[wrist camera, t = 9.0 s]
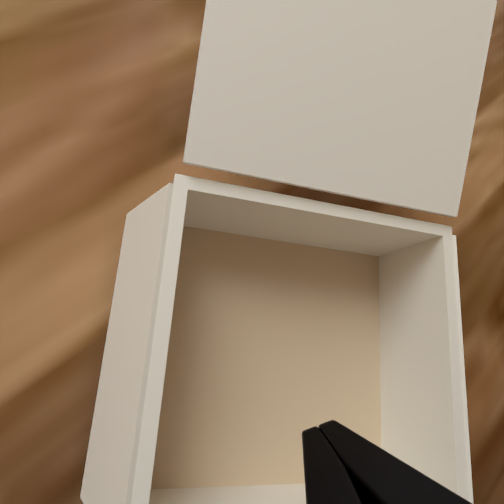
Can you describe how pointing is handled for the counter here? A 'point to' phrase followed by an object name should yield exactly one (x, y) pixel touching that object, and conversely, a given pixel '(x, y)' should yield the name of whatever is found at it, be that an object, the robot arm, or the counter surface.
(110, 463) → the carton
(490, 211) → the counter surface
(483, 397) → the counter surface
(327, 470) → the robot arm
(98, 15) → the counter surface
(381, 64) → the carton flap
